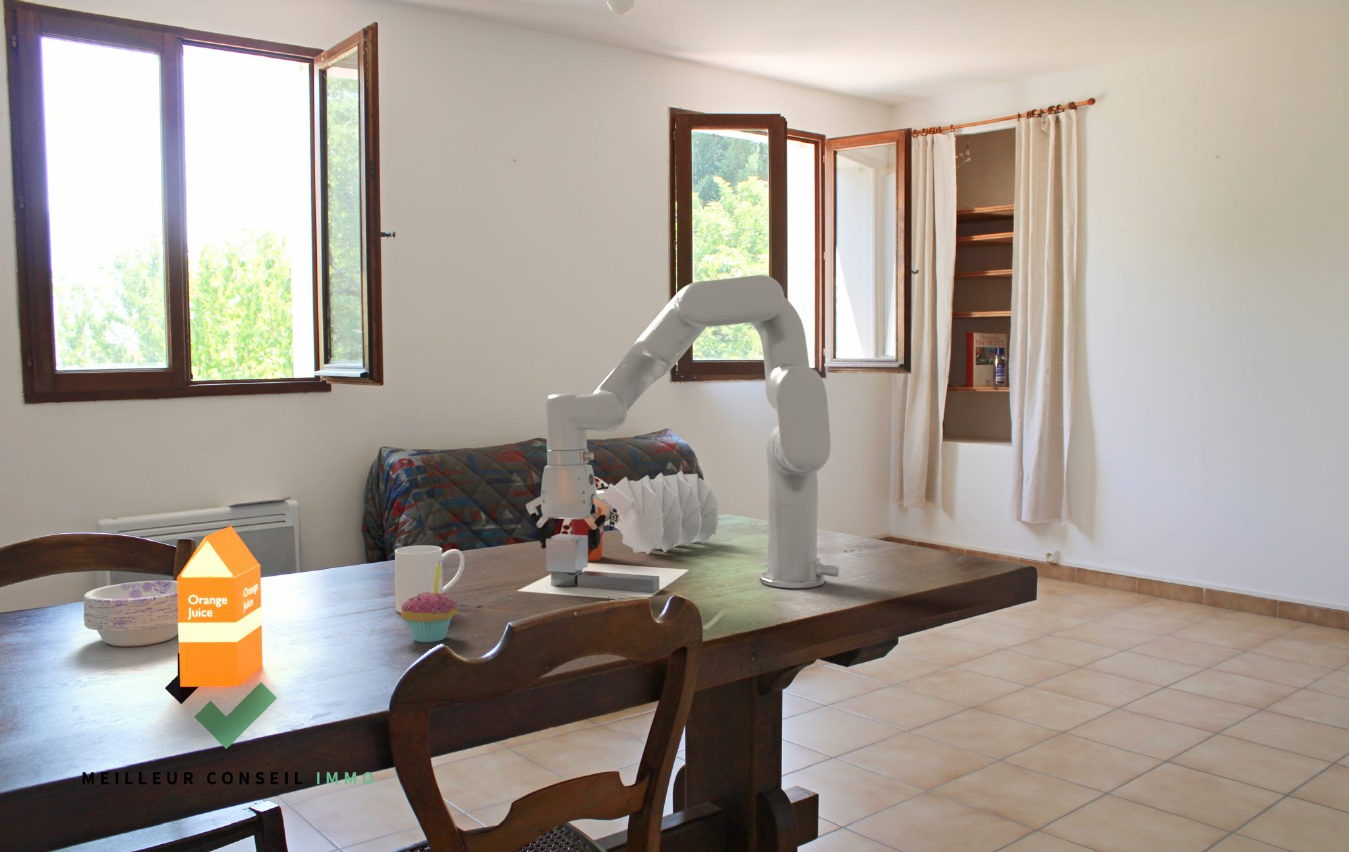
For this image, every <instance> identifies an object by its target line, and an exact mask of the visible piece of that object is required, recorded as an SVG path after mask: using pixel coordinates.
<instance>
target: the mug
mask: <svg viewBox="0 0 1349 852" xmlns="http://www.w3.org/2000/svg"><path fill="white" fill-rule="evenodd" d="M452 554H458V556H459V567H458V570H457V572H456V574H455V575H454V577H453V578H451V580H450V581H449V582H447V584H445V585H444V586H443V560H444V559H446V557H447V556H450V555H452ZM464 555H465V554H464V553H463V552H462V551H461V550H459V549H456V548H454V549H449V550H446V551H445V552H443V548H442V547H440V546H436V545H425V544H424V545H409V546H403V547H399V548H397V549H395V550H394V572H395V575H394V578H395V579H394V581H395V582H394V583H395V585H394V586H395V587H394V588H395V611H396V612H397V613H398V614H401V611H402V605H403V604H404V603H405V602H406V601H408V599H410V598H413V597H415V596H418V594H422V593H425V592H427V593H428V592H429V593H433V592H434V584H435V575H436V566H437V565H438V564H439V560H441V561H440V566H441V569H440V578H439V586H438V593H443V594H444V592H447V591H448V590H449V589H450V588H452V587H453V586H454V584H456V582H457V581H458V580H459V579H460V577H461V575H462V574H463V571H464V569H465V563H466V562H465V560H466V559H465V556H464Z"/></svg>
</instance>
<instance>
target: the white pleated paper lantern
mask: <svg viewBox="0 0 1349 852" xmlns="http://www.w3.org/2000/svg"><path fill="white" fill-rule="evenodd" d="M712 487H713V486H712V485H711V484H709V483H707V482H706V481H704V480H703V479H702V478H700V477H699V474H698V473H691V474H690V473H685V474H684V472H683V470H679V472H677V473H676V474H670V475H664V474H663V472H659V474H658V475H656V476H655V478H653V479H650V476H649V475H648V474H646V475H645V476H643V477H642V478H641V479H639V480H633V479H632V480H629V479H628V478H627V476H625V477H623V478H622V479H620V481H619V482H617V483H616V484H615V485H613V484H612V483H609V485H608V488H607V490H606V492H605V496H606V499H605V502H607V503H609V504H611V505H612V509H615V510H616V511H617V512H618V518H619V520H618V521H617V523H615V525H616V527H617V529H618V530H619V531H620V534H621V535H622V540H621V543H622V544H623V545H625V546H627V547H629V548H631V549H632V552H633V553H635V554H636V553H637V554H639V553H644V552H645V554H646V555H651V553H652V552H653V551H654V550H662V551H663V553H664V552H665V553H667V552H668V551H669V550H670V549H671V548H672V547H673V548H674V547H678V546H681V545H683V544H685V545H686V546H690V544H692V543H698V542H701V543H702V545H705V543H706V542H707V541H708V540H709V539H710V538H711V537H712V535H716V534H717V530H718V526H719V521H720V517H719V515H718V514H719V513H718V511H719V510H718V509H719V508H718V507H719V506H720V505H719V502H718V501H717V499H716V497H715V494H714V492H713V490H712Z"/></svg>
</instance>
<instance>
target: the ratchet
mask: <svg viewBox="0 0 1349 852" xmlns="http://www.w3.org/2000/svg"><path fill="white" fill-rule="evenodd" d="M550 575H551V586H554V587H560V588H571V587H580V588H593V589H606V590H619V591H632V592H645V593H654V592H656V591H657V590H658V589H659V576H650V575H636V574H622V573H608V572H594V571H584V572H582V570H580V571H578V572H576V573H572V572H558V571H550Z"/></svg>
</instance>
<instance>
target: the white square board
mask: <svg viewBox="0 0 1349 852" xmlns="http://www.w3.org/2000/svg"><path fill="white" fill-rule="evenodd" d="M584 571H594V572H608V573H622V574H636V575H650V576H659V589H658V590H657V591H656V592H654V593H645V592H632V591H619V590H606V589H593V588H580V587H571V588H560V587H554V586H551V574H549V575H547V576H545V577H542V578H540V579H538V580H536V581H534V582H532V583H530V584H528V585H526V586H524V587H522V588H519V589H518V590H517V592H524V593H536V594H537V593H538V594H549V595H550V594H551V595H558V596H559V595H561V596H571V597H572V596H574V597H575V596H576V597H588V598H600V599H611V600H620V599H619V598H629V597H650V598H651V597H654V596H655V595H656V594H658V593H659V592H660V591H661V590H663V589H664V588H666V587H668V586H669V585H670V584H672V583H673V582H674V581H676V580H678V579H679V578H681V577H682V576H683V575H685V574H686V573H688V572H690V569H684V568H683V569H682V568H668V567H657V566H656V567H655V566H654V567H653V566H641V565H639V566H637V565H624V564H610V563H609V564H608V563H594V562H588V567H586V568H584V569H582V572H584ZM608 597H610V598H608Z"/></svg>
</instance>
